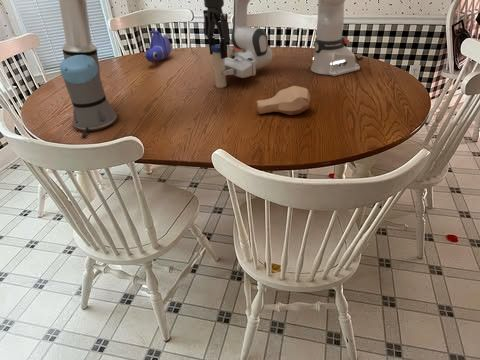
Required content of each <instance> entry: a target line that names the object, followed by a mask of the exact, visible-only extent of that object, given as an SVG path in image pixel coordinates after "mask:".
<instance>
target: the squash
mask: <svg viewBox="0 0 480 360" xmlns="http://www.w3.org/2000/svg"><path fill="white" fill-rule="evenodd" d="M311 98H312V97H311V95H310V90H309V89H307V88H306V87H302V86H298V85H292V86H289V87H287V88H283V89H280V90H279V91H277V92H276V94H275V95H274V96H272V97H271V98H265V99H257V100H256V102H255V103H256V107H257V109H256V110H257V113H258V114H259V115H263V114H266V113H273V112H275V113H282V114H284V115H287V116H295V115H300V114H301V113H303V112H305V111H306V110H308V109H309V107H310V102H311Z"/></svg>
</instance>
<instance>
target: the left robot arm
mask: <svg viewBox="0 0 480 360" xmlns="http://www.w3.org/2000/svg"><path fill="white" fill-rule="evenodd" d="M58 4H59V9H60V15H61V21H62V27H63V33H64V38H65V43H64V44H63V45H62V47H61V48H62V54H63V60H61V62H60V64H59V69H60V75H61V77H62V79H63V82H64V84H65V87H66V90H67V93H68V95H69V99H70V101H71V104H72V108H73V114H72V117H73V118H72V119H73V125H74V128H75V129H76V131H78V132H83V134H82V135H81V136H82V137H83V138H85V137H86V135H87V133H92V132H99V131H102V130H105V129H107V128H110V127H111V126H113V125H115V124H116V122H117V121H118V116H117V113H116V111H115V110H114V108H113V107H112V105H111V103H110V102H109V101H108V99H107V96H106V92H105V90H104V87H103V86H104V85H103V83H102V79H101V72H100V62H99V57H98V56H99V55H98V50H97V49H98V48H97V46H96V45H95V44H94V43H93V42H92V36H91V35H92V34H91V28H90V20H89V12H88V5H87V0H58ZM203 4H204V7H205V8H206V9H204V10H202V14H203V25H204V26H203V28H204V36H206V38H207V39H208V47H209V55H211V56H213V52H212V51H211V46H213V45H217V44H216V37H215V36H216V35H215V27H216V28H217V32H218V36H219V39H220V41H219V44H220V51H221V59H224V58H229V57H228V42H230V41H231V35H230V28H229V22H228V13H224V12H223V9H222V7H224V6H225V0H203Z"/></svg>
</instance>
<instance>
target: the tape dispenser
mask: <svg viewBox="0 0 480 360" xmlns="http://www.w3.org/2000/svg"><path fill="white" fill-rule="evenodd" d="M227 48H228V53H229V55H231V57H235V56H236V55H238V54H241V53H244V52H246V49H237V48H235V47H234V45H233V44H232V45H231V44H230V45H227Z"/></svg>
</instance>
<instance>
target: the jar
mask: <svg viewBox="0 0 480 360" xmlns="http://www.w3.org/2000/svg"><path fill="white" fill-rule="evenodd" d="M212 61H213V62H212V63H213V68H214V82H215V87H216V88H218V89H222V88H225V87H227V85H228V83H227V75H225V76H224V75H222V71H224V70H225V58H224V59H221V52H217V53H216V52H213V54H212Z"/></svg>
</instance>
